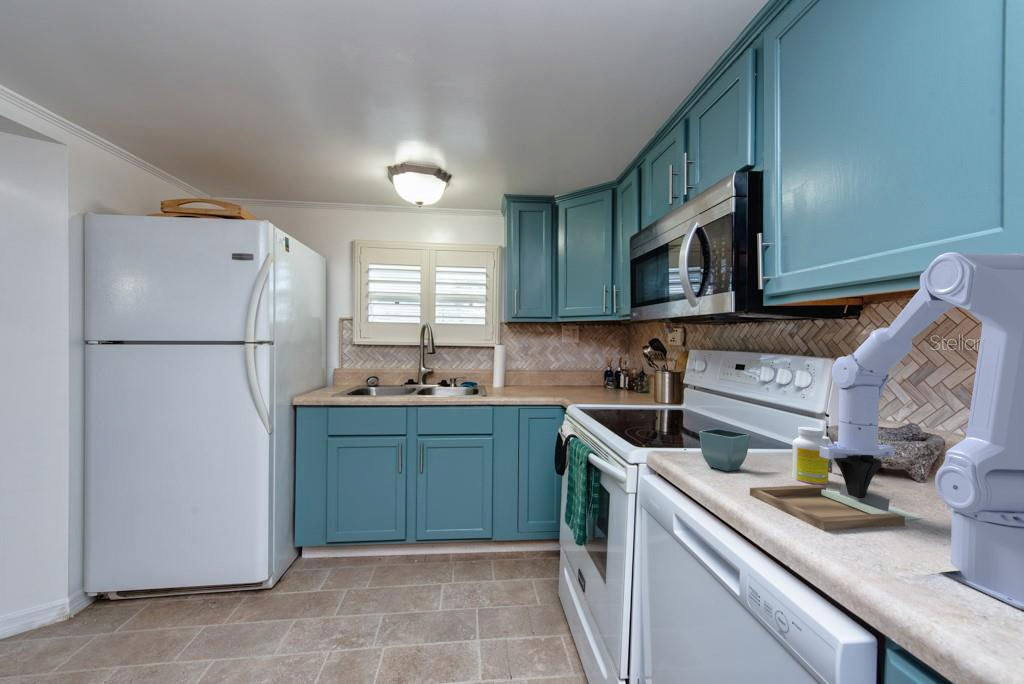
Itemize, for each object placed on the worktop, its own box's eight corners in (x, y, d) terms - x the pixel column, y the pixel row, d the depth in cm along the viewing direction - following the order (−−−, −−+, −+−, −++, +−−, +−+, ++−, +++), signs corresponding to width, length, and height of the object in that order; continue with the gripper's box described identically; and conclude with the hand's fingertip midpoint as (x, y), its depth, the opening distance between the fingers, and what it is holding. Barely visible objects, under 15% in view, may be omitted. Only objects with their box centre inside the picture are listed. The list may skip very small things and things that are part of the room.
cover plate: (939, 526, 75) (941, 509, 75) (884, 519, 73) (887, 501, 73) (869, 501, 87) (872, 486, 87) (820, 494, 84) (823, 479, 84)
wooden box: (904, 534, 71) (904, 516, 71) (823, 540, 68) (823, 521, 68) (818, 499, 87) (818, 484, 87) (749, 502, 84) (749, 487, 84)
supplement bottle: (834, 493, 91) (836, 432, 91) (800, 490, 92) (802, 430, 92) (817, 482, 97) (818, 426, 97) (785, 480, 98) (787, 424, 99)
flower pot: (716, 461, 114) (717, 427, 114) (750, 470, 106) (751, 434, 106) (697, 466, 109) (698, 430, 109) (731, 475, 101) (732, 437, 101)
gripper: (868, 418, 84) (866, 487, 84) (805, 419, 81) (804, 490, 81) (907, 425, 77) (905, 500, 77) (840, 426, 75) (839, 504, 75)
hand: (856, 496), depth 79 cm, fingers closed
